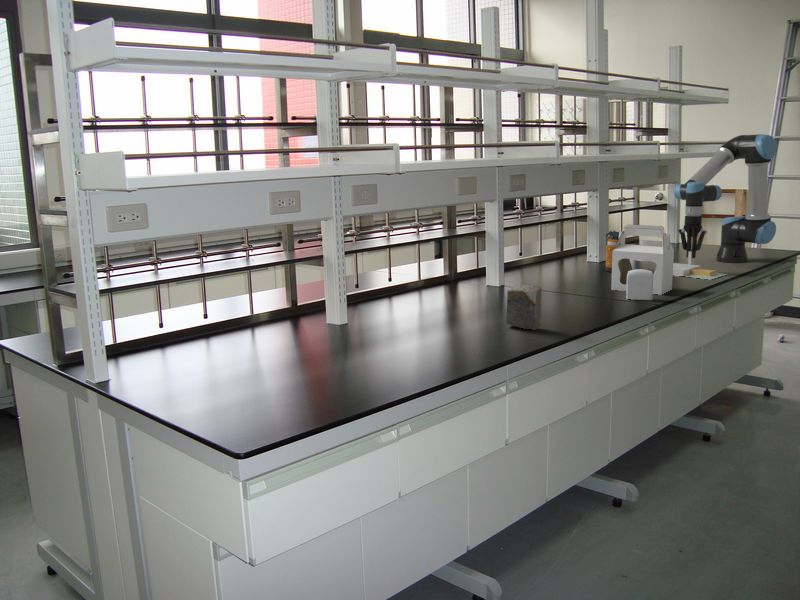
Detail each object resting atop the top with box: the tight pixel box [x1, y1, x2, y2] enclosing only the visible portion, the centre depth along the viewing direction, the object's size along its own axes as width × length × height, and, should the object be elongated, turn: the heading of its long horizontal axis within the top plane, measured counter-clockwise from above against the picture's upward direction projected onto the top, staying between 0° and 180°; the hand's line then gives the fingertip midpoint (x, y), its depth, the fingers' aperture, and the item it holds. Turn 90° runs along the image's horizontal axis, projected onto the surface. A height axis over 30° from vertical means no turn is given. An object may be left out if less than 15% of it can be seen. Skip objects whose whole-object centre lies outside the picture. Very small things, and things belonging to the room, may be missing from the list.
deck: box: [654, 262, 702, 277], centre depth 353 cm, size 18×14×3 cm
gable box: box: [610, 224, 675, 296], centre depth 312 cm, size 22×13×28 cm, turn 52°
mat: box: [684, 272, 728, 281], centre depth 343 cm, size 18×12×1 cm, turn 133°
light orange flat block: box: [691, 268, 717, 276], centre depth 345 cm, size 9×6×2 cm, turn 42°
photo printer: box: [625, 268, 654, 301], centre depth 295 cm, size 10×4×12 cm, turn 72°
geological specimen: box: [505, 284, 542, 331], centre depth 254 cm, size 11×6×15 cm, turn 56°
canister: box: [604, 230, 620, 273], centre depth 360 cm, size 9×11×20 cm
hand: (690, 264), depth 349 cm, fingers closed
